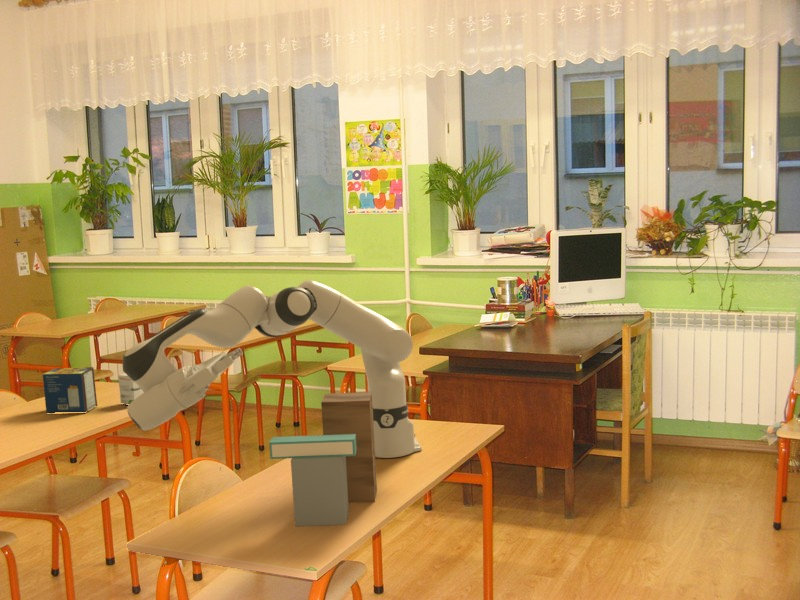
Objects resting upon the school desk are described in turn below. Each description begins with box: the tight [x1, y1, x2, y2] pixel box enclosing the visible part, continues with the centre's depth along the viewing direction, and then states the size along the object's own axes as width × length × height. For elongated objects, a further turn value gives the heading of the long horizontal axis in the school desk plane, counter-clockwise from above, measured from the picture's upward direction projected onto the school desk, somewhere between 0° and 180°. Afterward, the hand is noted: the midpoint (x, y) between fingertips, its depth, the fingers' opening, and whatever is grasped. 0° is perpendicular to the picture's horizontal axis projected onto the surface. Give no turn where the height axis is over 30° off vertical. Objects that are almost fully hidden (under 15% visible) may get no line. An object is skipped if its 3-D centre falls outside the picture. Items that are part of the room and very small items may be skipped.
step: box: [290, 456, 350, 527], centre depth 211 cm, size 8×12×16 cm, turn 88°
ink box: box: [117, 372, 144, 404], centre depth 337 cm, size 9×5×12 cm, turn 54°
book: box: [268, 434, 357, 460], centre depth 210 cm, size 5×20×4 cm, turn 88°
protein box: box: [42, 366, 98, 413], centre depth 331 cm, size 10×15×16 cm
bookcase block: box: [320, 391, 378, 504], centre depth 225 cm, size 9×12×26 cm
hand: (236, 354), depth 210 cm, fingers open, 8 cm apart
